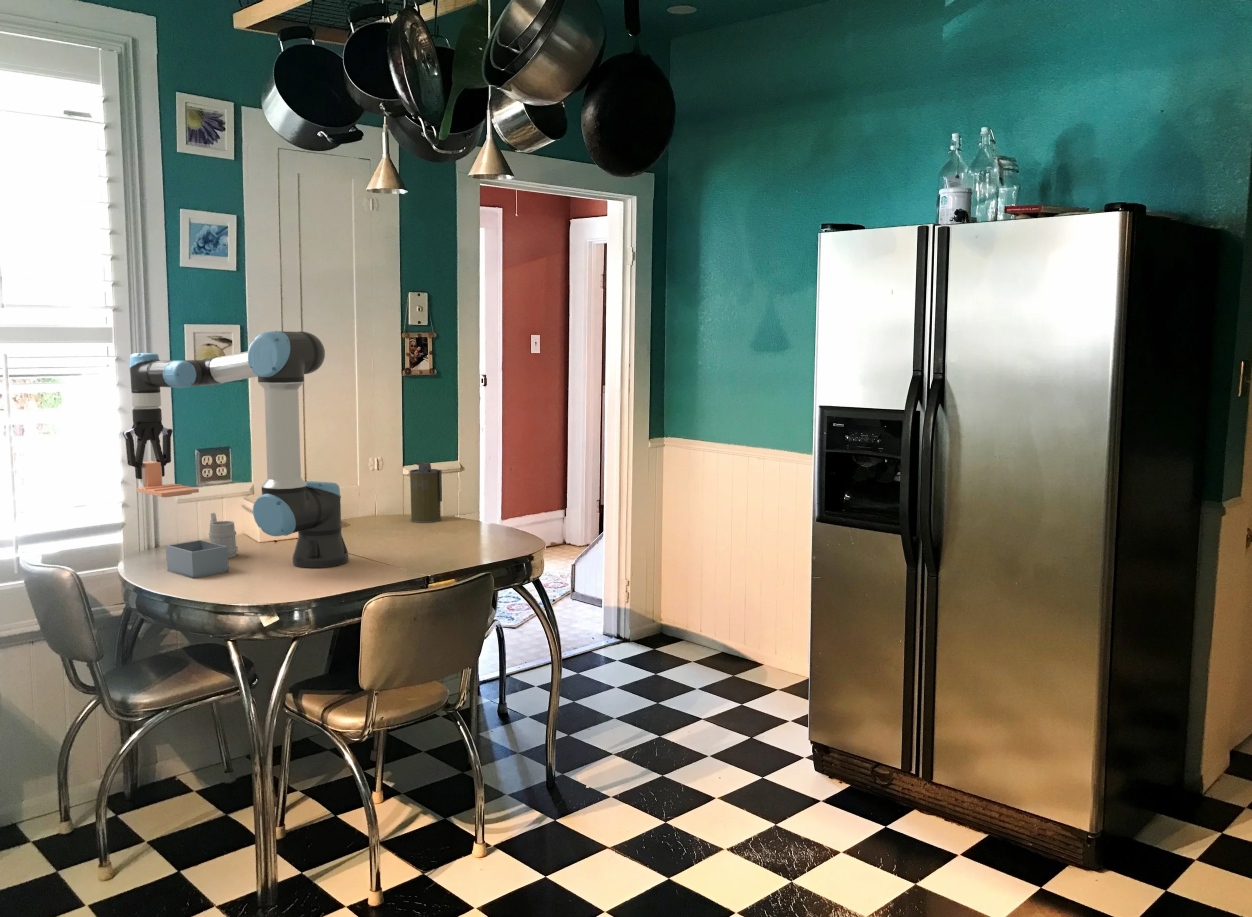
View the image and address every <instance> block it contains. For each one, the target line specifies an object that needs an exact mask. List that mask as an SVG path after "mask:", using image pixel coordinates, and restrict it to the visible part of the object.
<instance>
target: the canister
mask: <svg viewBox="0 0 1252 917" xmlns="http://www.w3.org/2000/svg"><path fill="white" fill-rule="evenodd" d="M416 465H417V466H418V468H417V469H411V470H409V476H410V477H409V482H410V486H409V487H410V515H411V516H410V522H412V523H417V524H422V523H423V524H427V523H428V524H429V523H436V522H440V521H442V517H441V516H442V515H441V502H443V481H442V479H443V478H442V477H443V476H442V472H443V471H442V469H437V468H432V466H431V465H432V464H431V462H418V463H416Z"/></svg>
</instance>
